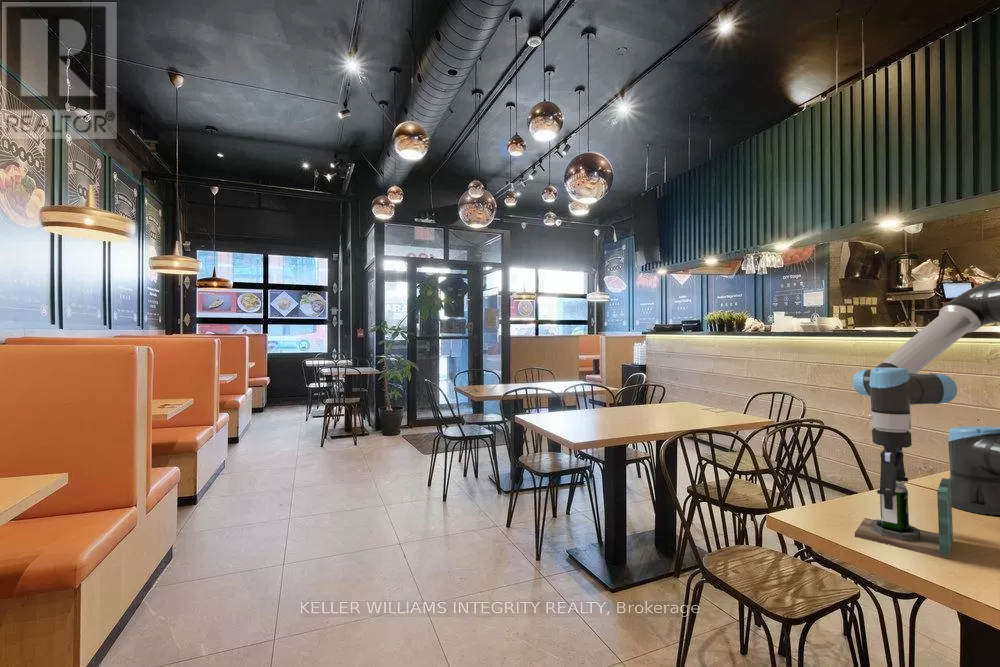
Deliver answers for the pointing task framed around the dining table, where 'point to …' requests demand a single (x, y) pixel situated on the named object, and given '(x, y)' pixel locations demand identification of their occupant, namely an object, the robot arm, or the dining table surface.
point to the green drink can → (899, 511)
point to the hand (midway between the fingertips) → (894, 514)
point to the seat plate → (915, 537)
